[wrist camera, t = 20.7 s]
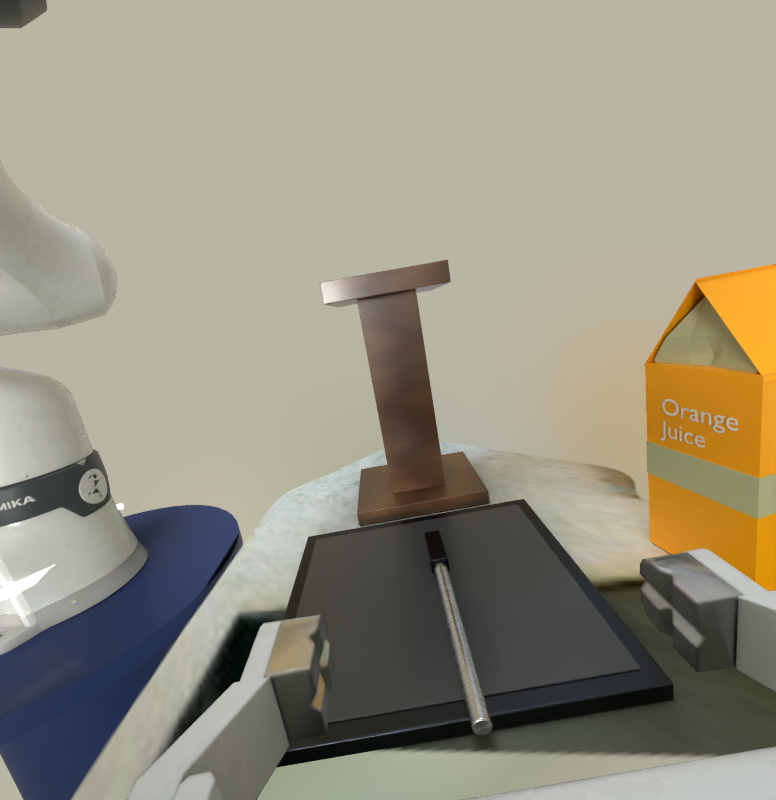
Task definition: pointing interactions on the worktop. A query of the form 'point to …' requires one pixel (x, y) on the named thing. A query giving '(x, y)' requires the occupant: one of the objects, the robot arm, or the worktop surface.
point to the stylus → (458, 637)
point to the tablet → (484, 624)
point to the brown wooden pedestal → (404, 399)
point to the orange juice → (717, 424)
